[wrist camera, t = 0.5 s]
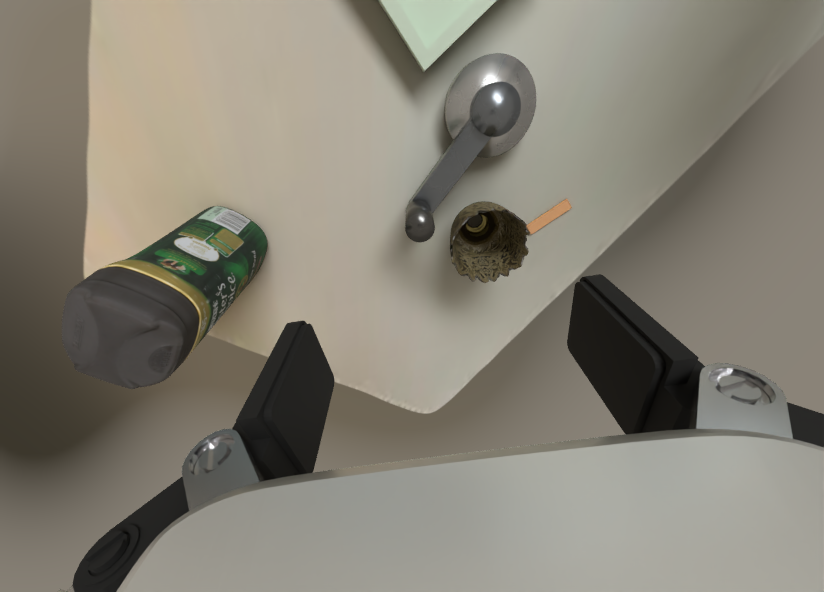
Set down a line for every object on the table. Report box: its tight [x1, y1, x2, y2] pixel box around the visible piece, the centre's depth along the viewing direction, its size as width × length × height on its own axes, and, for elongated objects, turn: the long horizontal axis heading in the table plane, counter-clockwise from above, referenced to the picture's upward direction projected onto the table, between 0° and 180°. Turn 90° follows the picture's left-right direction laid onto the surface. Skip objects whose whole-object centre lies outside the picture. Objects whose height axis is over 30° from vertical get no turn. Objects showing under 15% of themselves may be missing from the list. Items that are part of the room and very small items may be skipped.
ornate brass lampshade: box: [450, 202, 529, 283], centre depth 32 cm, size 8×7×8 cm
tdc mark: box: [526, 199, 572, 234], centre depth 35 cm, size 5×1×1 cm, turn 129°
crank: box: [405, 82, 521, 242], centre depth 27 cm, size 14×4×6 cm, turn 144°
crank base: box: [445, 53, 536, 157], centre depth 29 cm, size 8×8×2 cm
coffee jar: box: [62, 206, 267, 389], centre depth 29 cm, size 10×8×19 cm
